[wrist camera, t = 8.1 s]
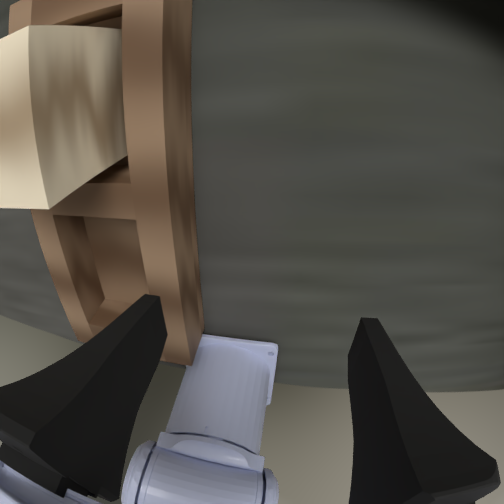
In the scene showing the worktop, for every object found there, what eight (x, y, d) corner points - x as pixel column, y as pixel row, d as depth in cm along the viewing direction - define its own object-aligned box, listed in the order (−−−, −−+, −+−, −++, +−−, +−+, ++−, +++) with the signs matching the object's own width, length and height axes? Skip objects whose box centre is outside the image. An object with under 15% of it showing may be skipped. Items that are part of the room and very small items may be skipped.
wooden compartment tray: (204, 327, 25) (191, 366, 22) (98, 309, 26) (78, 340, 23) (193, -30, 12) (166, -51, 8) (51, 7, 13) (10, 6, 9)
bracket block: (137, 149, 17) (49, 209, 10) (83, 151, 17) (-8, 207, 11) (132, 30, 13) (28, 25, 6) (75, 43, 14) (-31, 56, 7)
